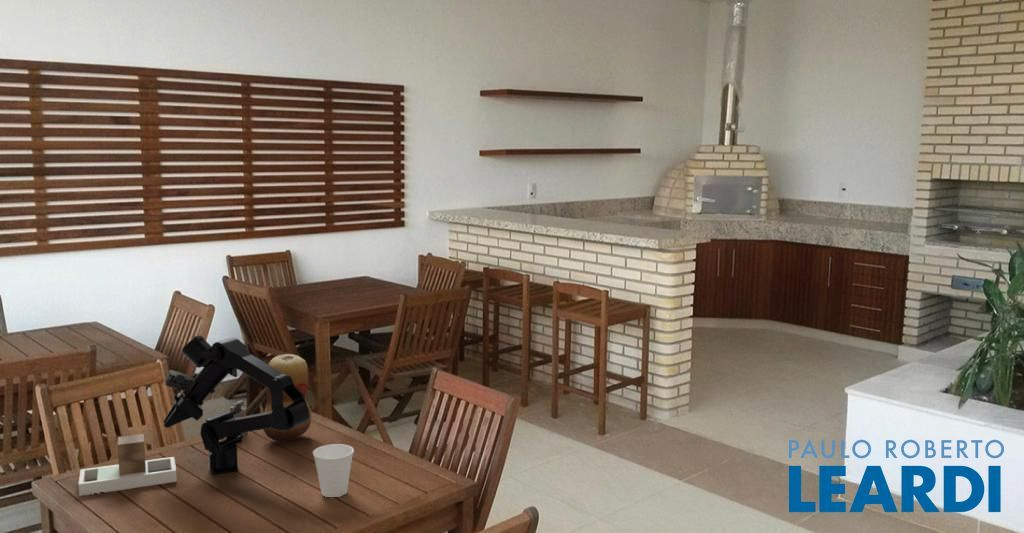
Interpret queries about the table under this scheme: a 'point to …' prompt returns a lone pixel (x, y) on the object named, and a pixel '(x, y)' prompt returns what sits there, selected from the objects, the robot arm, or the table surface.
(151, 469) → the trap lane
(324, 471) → the cup
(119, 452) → the walnut block
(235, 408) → the lighter
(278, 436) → the butternut squash
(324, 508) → the table surface
